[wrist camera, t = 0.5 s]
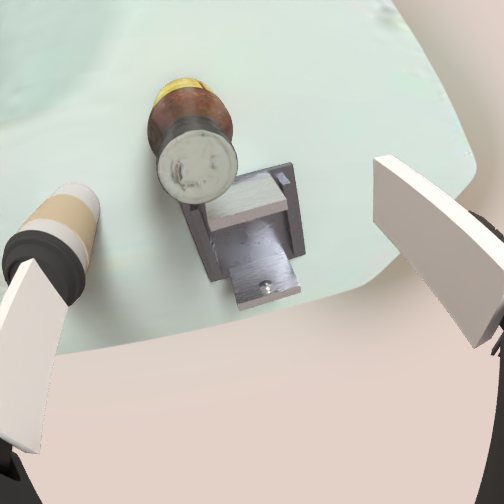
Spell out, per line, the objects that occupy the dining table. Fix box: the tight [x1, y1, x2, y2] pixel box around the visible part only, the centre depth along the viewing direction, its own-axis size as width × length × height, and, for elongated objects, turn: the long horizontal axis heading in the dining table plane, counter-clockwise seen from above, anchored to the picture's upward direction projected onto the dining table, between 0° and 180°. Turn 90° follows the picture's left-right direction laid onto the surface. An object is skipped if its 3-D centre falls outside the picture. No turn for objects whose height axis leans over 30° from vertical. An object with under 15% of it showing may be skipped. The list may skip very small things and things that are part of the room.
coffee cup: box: [2, 182, 100, 307], centre depth 28 cm, size 9×9×15 cm
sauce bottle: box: [147, 78, 238, 204], centre depth 22 cm, size 6×6×20 cm
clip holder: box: [180, 162, 306, 311], centre depth 37 cm, size 14×14×8 cm
